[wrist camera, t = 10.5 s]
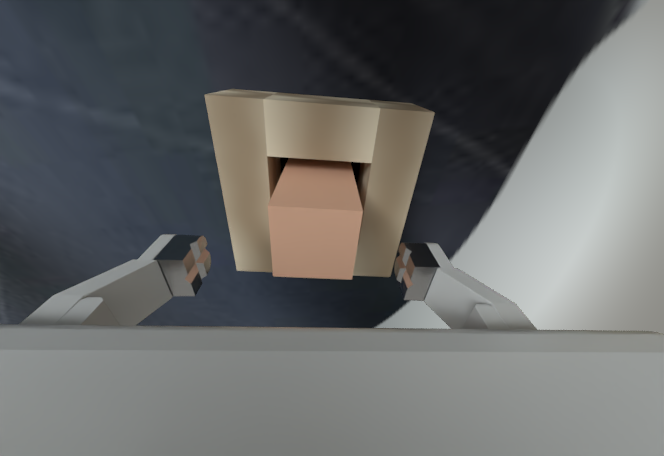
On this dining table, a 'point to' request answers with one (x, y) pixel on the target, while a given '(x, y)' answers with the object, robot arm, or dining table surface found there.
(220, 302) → the dining table surface
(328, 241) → the peg
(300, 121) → the socket block
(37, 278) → the dining table surface
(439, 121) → the dining table surface
